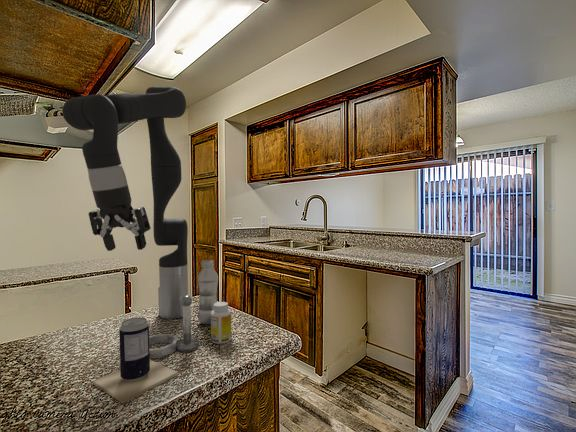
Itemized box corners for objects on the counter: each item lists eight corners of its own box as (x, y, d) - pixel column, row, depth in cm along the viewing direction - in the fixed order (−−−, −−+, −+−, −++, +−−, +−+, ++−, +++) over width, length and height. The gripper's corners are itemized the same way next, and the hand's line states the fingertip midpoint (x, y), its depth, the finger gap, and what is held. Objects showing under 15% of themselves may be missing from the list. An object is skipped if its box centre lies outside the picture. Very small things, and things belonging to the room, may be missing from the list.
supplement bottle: (233, 336, 89) (232, 300, 89) (229, 344, 84) (228, 306, 83) (213, 336, 89) (213, 300, 89) (208, 344, 84) (208, 307, 83)
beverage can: (155, 370, 70) (153, 317, 69) (140, 384, 64) (139, 326, 64) (131, 368, 70) (129, 316, 70) (114, 383, 64) (113, 326, 64)
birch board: (92, 383, 65) (92, 381, 65) (146, 360, 75) (146, 357, 75) (123, 403, 59) (123, 400, 59) (177, 374, 69) (177, 372, 69)
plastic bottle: (209, 317, 104) (208, 258, 103) (223, 322, 100) (222, 260, 100) (193, 323, 99) (192, 261, 98) (207, 328, 95) (206, 263, 94)
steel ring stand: (129, 351, 80) (128, 299, 79) (173, 334, 91) (172, 288, 90) (160, 366, 73) (158, 308, 72) (203, 345, 83) (203, 294, 83)
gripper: (146, 180, 76) (160, 242, 80) (95, 184, 78) (112, 244, 83) (126, 187, 69) (143, 254, 73) (71, 191, 71) (90, 256, 76)
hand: (126, 249), depth 78 cm, fingers open, 8 cm apart
